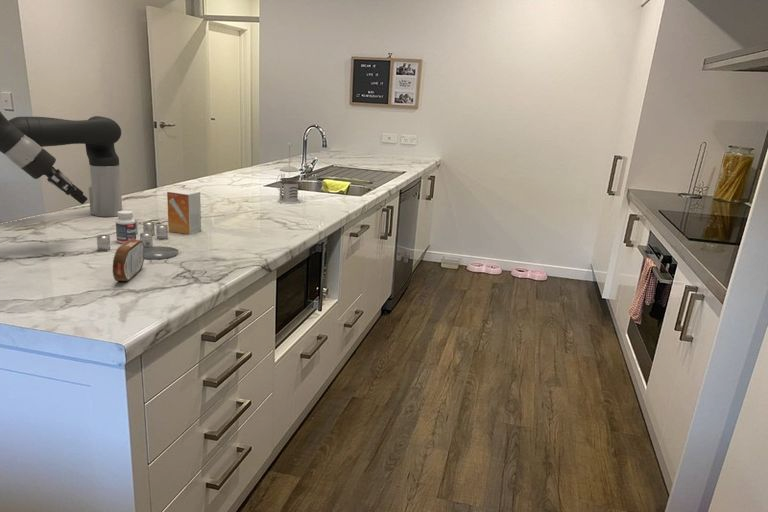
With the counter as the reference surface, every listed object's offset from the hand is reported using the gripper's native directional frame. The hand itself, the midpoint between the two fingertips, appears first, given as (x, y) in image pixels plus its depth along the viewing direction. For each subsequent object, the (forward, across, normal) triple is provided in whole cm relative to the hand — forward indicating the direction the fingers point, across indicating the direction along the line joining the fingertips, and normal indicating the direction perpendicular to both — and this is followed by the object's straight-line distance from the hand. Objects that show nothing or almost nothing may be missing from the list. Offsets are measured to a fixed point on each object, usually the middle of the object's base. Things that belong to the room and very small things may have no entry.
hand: (83, 198), depth 154 cm
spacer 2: (+20, +8, +1) cm, 21 cm away
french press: (+67, -43, +48) cm, 93 cm away
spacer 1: (+19, -9, 0) cm, 21 cm away
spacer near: (+12, +7, -7) cm, 15 cm away
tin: (+14, +32, -6) cm, 35 cm away
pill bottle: (+17, 0, -2) cm, 17 cm away
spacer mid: (+22, -6, +3) cm, 23 cm away
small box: (+30, -7, +11) cm, 33 cm away
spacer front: (+24, 0, +5) cm, 25 cm away
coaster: (+20, +16, +2) cm, 26 cm away
